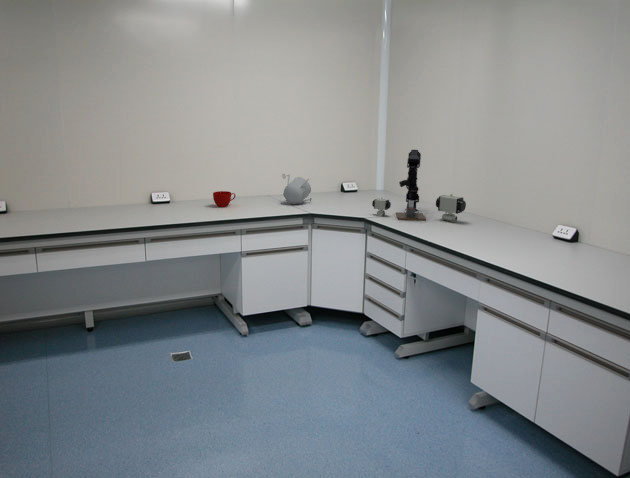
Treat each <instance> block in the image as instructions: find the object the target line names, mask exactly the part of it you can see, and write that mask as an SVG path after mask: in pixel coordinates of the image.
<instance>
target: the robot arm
mask: <svg viewBox="0 0 630 478" xmlns="http://www.w3.org/2000/svg"><path fill="white" fill-rule="evenodd" d="M421 159H422V155H421V152H419V149H411V150H410V152H408V158H407V163H406V164H407V165H406V169H407V168H408V172H407V177H406V178H407V179H403V180H400V181H399V182H398V183H399V186H400V188H403V187H406V189H407V193H405V194H406V195H405V202H406V203H407V204H406V208H407V207H408V206H409V200H411V201H413V200H414V207H415V212H417V211H418V209H417V203H419V202H420V196H419V187H418V184H417V183H418V169H420V168H421ZM406 208H405V211H406Z"/></svg>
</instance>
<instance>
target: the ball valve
mask: <svg viewBox="0 0 630 478" xmlns="http://www.w3.org/2000/svg"><path fill="white" fill-rule="evenodd" d="M435 206H436V208H437V211H439V212H444V214H442V215H441V219H442V220H443V221H444V220H445V221H446V222H450V221H451V223H456V222H457V221H458V214H461V213H463V212H464V211H465V210H466V207H467V203H466V200H465V199H464V197H461V196H455V195H453V194H452V193H451V194H449V195H447V194H443V195H440V196H438V197H437V198H436V200H435ZM455 214H457V215H455Z"/></svg>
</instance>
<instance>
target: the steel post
mask: <svg viewBox="0 0 630 478" xmlns="http://www.w3.org/2000/svg"><path fill="white" fill-rule="evenodd" d="M413 207H414V200H413V201H411V200H409V206H408V208H413Z"/></svg>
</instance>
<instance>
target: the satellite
mask: <svg viewBox="0 0 630 478" xmlns="http://www.w3.org/2000/svg"><path fill="white" fill-rule="evenodd" d="M281 175H282V176H281V177H282V179H283V180H285V179H286V177H288V178H287V185H286V186H285V188H284V190H283V195H282V196H283V197H284V199H285V201H286V202H287V203H289V204H291V205H298V204H301V203H303V202H308V201H309V202H311V201H312V197H310V198H308V197H309V195H310V193H311V192H312V187H311V184H310V182H311V179H310V178H307V179H305V178H303V177H301V176H297V177H295V178H294V179H293V180H292V181H290V178H291V174H288V175H286V174H285V173H282V174H281ZM307 198H308V199H307Z"/></svg>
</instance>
